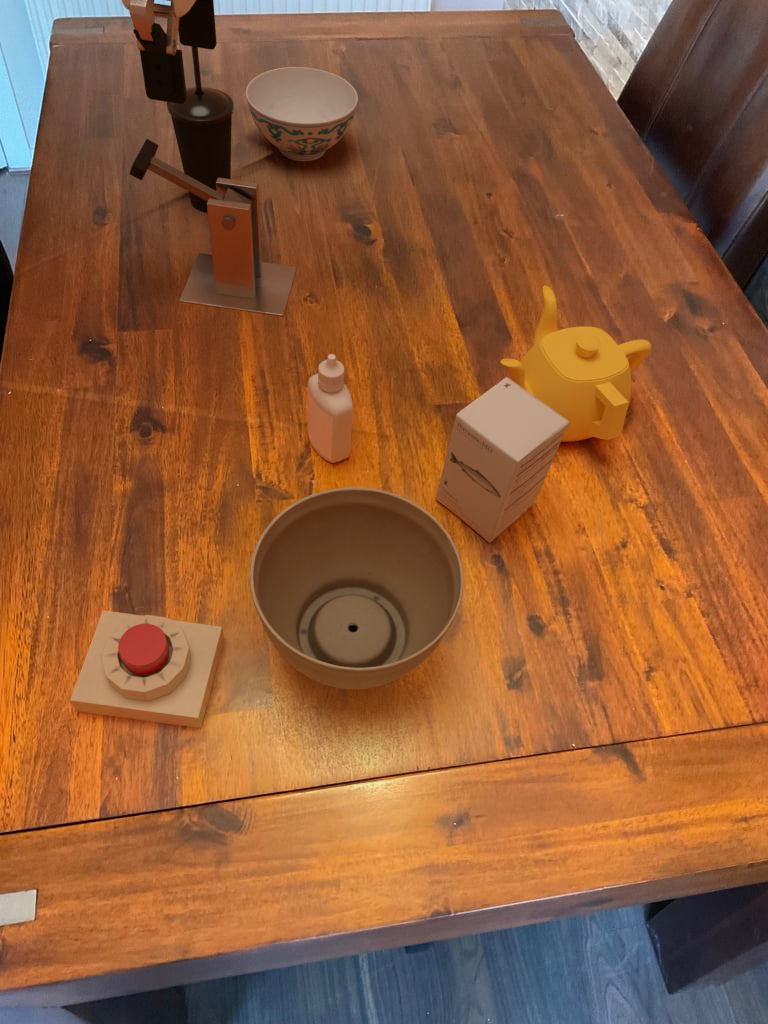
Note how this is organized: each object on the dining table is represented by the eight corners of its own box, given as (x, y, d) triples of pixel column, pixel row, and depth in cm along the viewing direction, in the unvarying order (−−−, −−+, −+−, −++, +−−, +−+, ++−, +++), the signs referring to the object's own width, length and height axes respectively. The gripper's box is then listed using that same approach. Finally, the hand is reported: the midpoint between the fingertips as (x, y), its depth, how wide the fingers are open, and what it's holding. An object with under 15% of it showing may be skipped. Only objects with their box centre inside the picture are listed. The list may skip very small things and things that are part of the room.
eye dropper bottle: (306, 464, 80) (307, 378, 70) (307, 422, 83) (307, 334, 74) (350, 465, 80) (356, 379, 71) (349, 423, 84) (355, 336, 74)
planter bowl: (258, 559, 73) (252, 486, 64) (432, 557, 75) (450, 486, 66) (253, 730, 64) (246, 672, 55) (453, 723, 65) (477, 665, 57)
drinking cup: (171, 218, 102) (147, 53, 86) (194, 186, 106) (174, 24, 90) (228, 231, 101) (215, 67, 85) (249, 198, 106) (239, 37, 90)
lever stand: (180, 308, 92) (164, 209, 82) (199, 260, 97) (187, 162, 87) (283, 323, 92) (281, 225, 82) (297, 274, 97) (296, 177, 87)
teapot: (524, 350, 93) (545, 280, 85) (635, 392, 90) (668, 323, 82) (481, 428, 85) (500, 358, 77) (602, 476, 82) (634, 409, 74)
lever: (127, 178, 81) (133, 159, 80) (141, 152, 84) (148, 133, 83) (237, 236, 86) (245, 220, 84) (246, 209, 89) (255, 193, 87)
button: (116, 672, 62) (111, 662, 60) (130, 630, 64) (126, 620, 62) (162, 678, 62) (159, 668, 60) (174, 636, 64) (171, 626, 62)
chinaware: (344, 186, 109) (346, 131, 103) (236, 168, 110) (232, 112, 103) (363, 130, 118) (366, 76, 112) (263, 113, 118) (261, 59, 112)
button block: (76, 711, 63) (64, 690, 60) (107, 622, 68) (98, 599, 65) (201, 728, 63) (195, 709, 60) (224, 638, 68) (220, 616, 65)
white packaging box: (432, 500, 79) (452, 411, 68) (481, 462, 82) (507, 372, 72) (488, 547, 76) (518, 462, 66) (537, 505, 79) (572, 419, 69)
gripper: (139, -228, 59) (168, 21, 73) (53, -159, 49) (106, 116, 63) (239, -212, 59) (249, 34, 73) (174, -140, 49) (200, 130, 63)
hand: (183, 71), depth 68 cm, fingers open, 9 cm apart
